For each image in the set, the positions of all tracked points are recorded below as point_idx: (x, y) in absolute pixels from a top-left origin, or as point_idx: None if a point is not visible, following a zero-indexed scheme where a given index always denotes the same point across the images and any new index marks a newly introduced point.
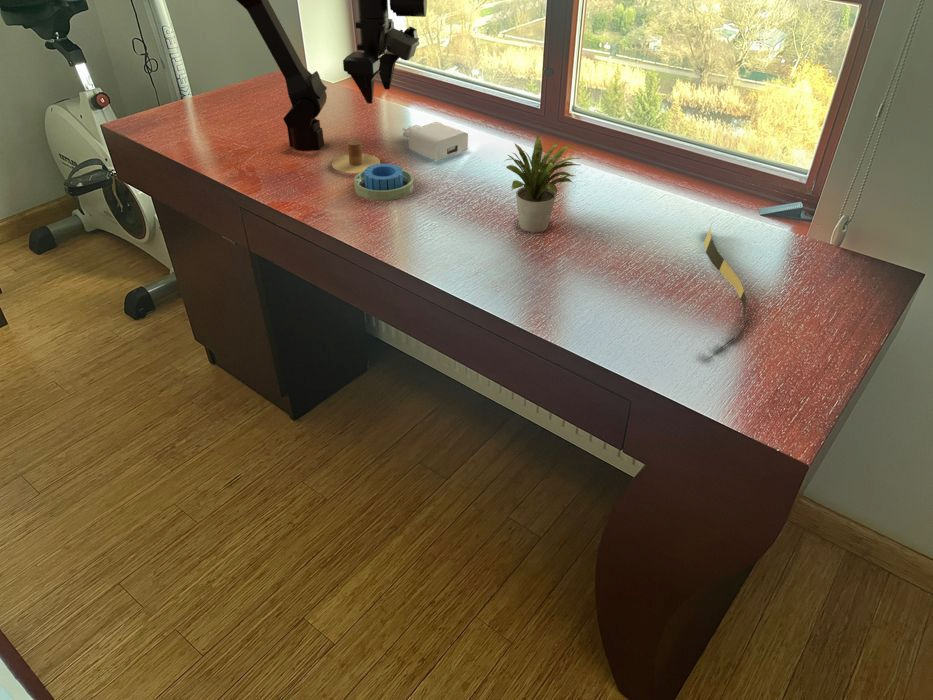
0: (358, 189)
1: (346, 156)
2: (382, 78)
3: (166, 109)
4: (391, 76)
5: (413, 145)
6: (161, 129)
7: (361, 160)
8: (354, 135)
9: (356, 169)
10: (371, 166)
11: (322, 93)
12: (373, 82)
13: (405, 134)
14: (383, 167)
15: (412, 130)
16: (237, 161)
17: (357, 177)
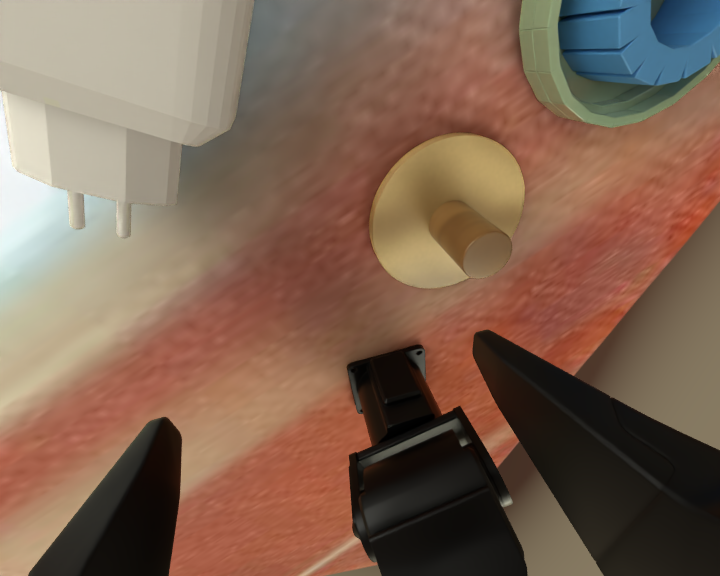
0: None
1: (415, 274)
2: (168, 525)
3: (341, 568)
4: (94, 523)
5: (240, 81)
6: None
7: (460, 205)
8: (238, 358)
9: (498, 189)
10: (650, 71)
11: (444, 512)
12: (642, 452)
13: (175, 186)
14: (646, 12)
15: (198, 117)
16: (487, 413)
17: (640, 111)
